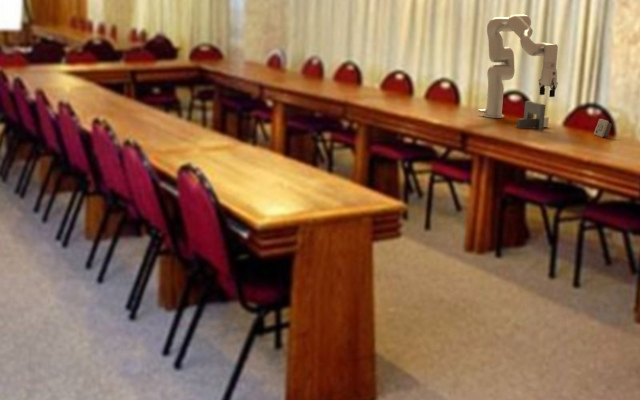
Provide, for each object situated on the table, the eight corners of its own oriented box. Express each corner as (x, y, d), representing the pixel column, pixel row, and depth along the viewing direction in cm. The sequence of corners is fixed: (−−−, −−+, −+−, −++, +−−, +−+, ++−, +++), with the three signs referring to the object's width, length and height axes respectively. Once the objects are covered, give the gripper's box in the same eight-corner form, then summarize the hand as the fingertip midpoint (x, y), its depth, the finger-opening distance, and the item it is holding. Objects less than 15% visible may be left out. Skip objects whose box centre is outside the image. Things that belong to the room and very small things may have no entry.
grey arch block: (538, 129, 491) (541, 105, 488) (523, 124, 506) (525, 101, 502) (543, 129, 492) (545, 104, 489) (527, 124, 507) (529, 100, 503)
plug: (520, 128, 493) (521, 118, 492) (515, 127, 498) (516, 116, 496) (547, 127, 499) (548, 117, 498) (542, 126, 504) (543, 115, 502)
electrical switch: (593, 134, 480) (596, 118, 478) (601, 135, 481) (605, 119, 479) (601, 137, 472) (604, 120, 469) (610, 138, 473) (613, 121, 470)
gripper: (564, 67, 486) (561, 97, 490) (546, 64, 502) (543, 94, 506) (552, 67, 483) (550, 97, 487) (535, 64, 499) (532, 94, 503)
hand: (546, 95), depth 496 cm, fingers open, 9 cm apart
